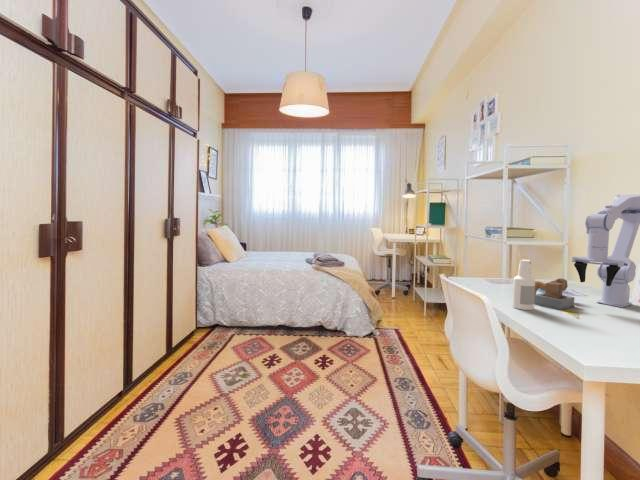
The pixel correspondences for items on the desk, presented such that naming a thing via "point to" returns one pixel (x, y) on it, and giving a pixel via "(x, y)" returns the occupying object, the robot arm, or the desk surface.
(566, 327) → the desk surface
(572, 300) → the square well
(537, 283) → the lion figurine
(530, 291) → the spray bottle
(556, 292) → the walnut block
